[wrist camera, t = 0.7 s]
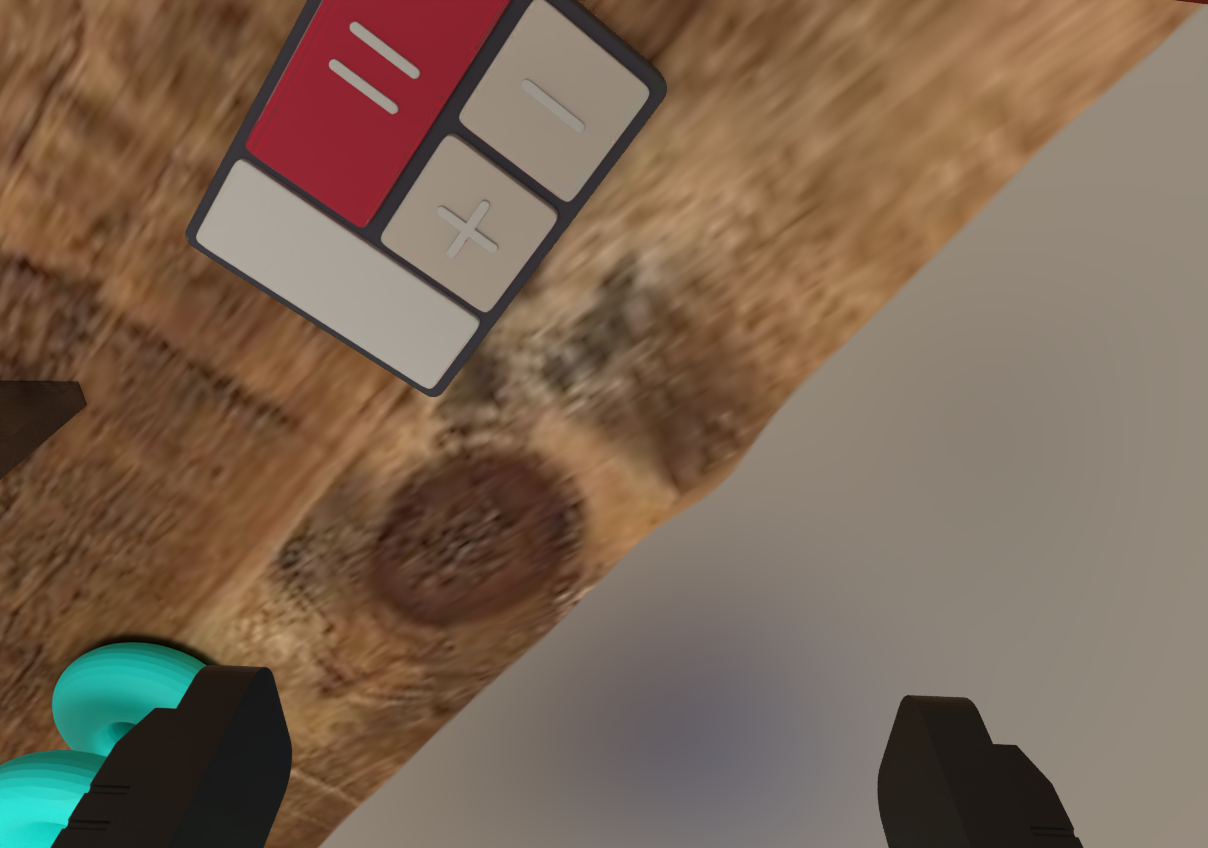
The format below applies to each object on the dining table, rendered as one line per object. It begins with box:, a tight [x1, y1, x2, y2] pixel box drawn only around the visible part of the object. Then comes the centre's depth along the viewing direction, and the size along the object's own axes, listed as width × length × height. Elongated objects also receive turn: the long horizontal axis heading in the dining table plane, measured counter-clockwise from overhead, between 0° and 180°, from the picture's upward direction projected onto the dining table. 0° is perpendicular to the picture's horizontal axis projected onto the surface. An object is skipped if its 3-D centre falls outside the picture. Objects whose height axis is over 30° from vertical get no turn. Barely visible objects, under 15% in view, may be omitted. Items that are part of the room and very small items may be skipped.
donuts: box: [0, 642, 207, 848], centre depth 43 cm, size 10×10×10 cm
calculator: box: [186, 0, 667, 397], centre depth 30 cm, size 11×4×15 cm
